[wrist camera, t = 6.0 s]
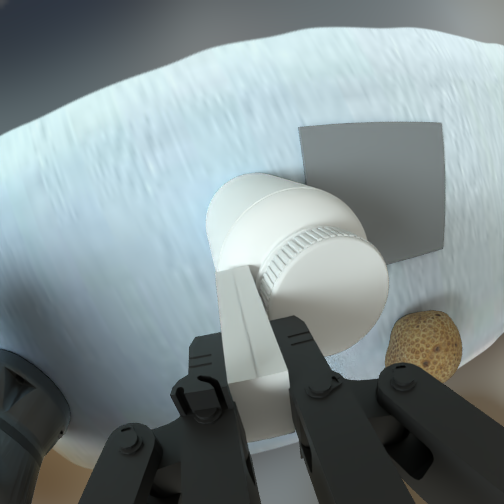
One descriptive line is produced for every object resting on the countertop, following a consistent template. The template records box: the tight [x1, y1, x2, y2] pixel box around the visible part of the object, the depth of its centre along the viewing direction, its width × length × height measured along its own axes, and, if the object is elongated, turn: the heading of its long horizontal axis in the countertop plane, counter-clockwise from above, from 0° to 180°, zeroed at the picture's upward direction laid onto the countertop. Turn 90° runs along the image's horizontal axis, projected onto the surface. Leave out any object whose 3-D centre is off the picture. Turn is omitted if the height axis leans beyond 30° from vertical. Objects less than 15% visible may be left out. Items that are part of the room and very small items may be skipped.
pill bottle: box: [206, 173, 389, 357], centre depth 18 cm, size 8×8×15 cm
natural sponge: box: [385, 310, 462, 383], centre depth 28 cm, size 9×9×10 cm
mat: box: [298, 122, 445, 265], centre depth 26 cm, size 16×14×1 cm
